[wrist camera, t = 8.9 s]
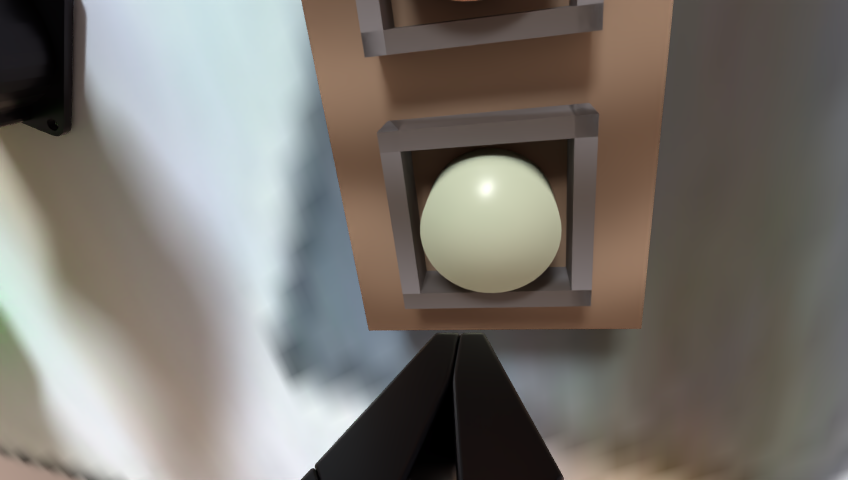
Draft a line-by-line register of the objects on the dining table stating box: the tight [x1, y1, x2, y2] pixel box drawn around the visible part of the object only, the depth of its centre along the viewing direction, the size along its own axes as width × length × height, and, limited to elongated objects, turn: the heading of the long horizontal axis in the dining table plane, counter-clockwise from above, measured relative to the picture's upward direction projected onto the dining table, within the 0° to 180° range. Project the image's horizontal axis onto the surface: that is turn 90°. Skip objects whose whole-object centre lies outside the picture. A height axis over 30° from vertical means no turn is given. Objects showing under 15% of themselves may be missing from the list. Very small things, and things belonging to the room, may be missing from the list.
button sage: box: [420, 148, 562, 293], centre depth 14 cm, size 4×4×2 cm
